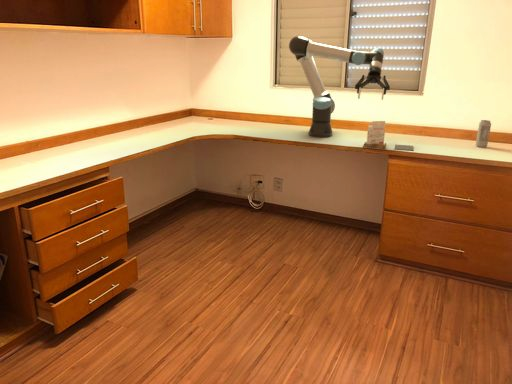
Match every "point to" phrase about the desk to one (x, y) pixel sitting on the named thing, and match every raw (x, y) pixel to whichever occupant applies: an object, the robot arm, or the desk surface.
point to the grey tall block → (483, 133)
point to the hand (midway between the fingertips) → (370, 97)
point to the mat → (403, 147)
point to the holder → (374, 145)
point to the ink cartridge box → (376, 133)
